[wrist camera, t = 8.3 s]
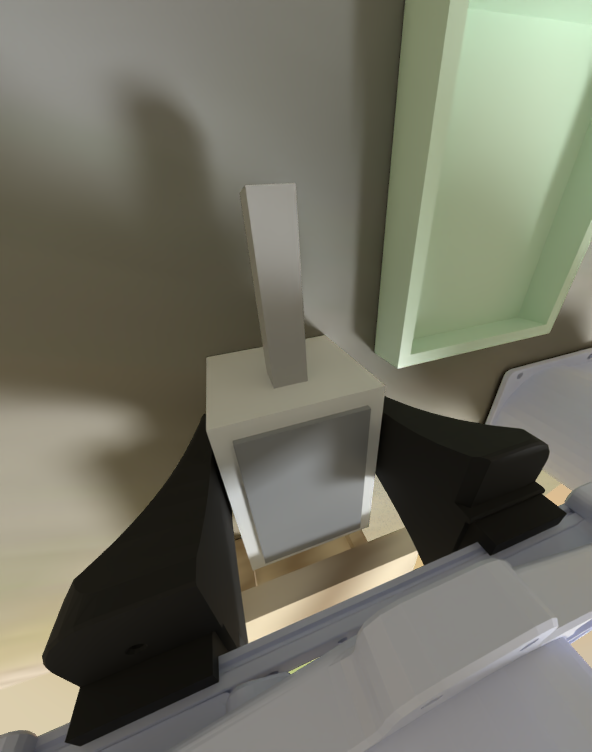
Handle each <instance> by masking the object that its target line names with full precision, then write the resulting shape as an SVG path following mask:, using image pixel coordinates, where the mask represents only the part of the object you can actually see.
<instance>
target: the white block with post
mask: <svg viewBox="0 0 592 752" xmlns="http://www.w3.org/2000/svg"><path fill="white" fill-rule="evenodd" d="M240 199H241V206H242V212H243V219H244V225H245V232H246V239H247V245H248V252H249V258H250V265H251V271H252V278H253V285H254V291H255V298H256V304H257V311H258V318H259V324H260V331H261V337H262V344H263V347H259V348H254V349H248V350H243V351H238V352H232V353H227V354H222V355H216V356H211V357H206V432H207V435H208V438H209V441H210V444H211V447H212V450H213V453H214V456H215V459H216V462H217V465H218V468H219V471H220V474H221V477H222V480H223V483H224V486H225V489H226V492H227V495H228V498H229V501H230V504H231V507H232V510H233V513H234V516H235V519H236V522H237V525H238V528H239V531H240V534H241V537H242V540H243V543H244V546H245V549H246V552H247V555H248V558H249V561H250V564H251V567H252V570H253V571H254V570H256V569H259V568H262V567H264V566H267V565H269V564H272V563H275V562H277V561H280V560H283V559H285V558H288V557H290V556H293V555H296V554H298V553H301V552H304V551H306V550H309V549H311V548H314V547H317V546H319V545H322V544H325V543H327V542H330V541H332V540H335V539H338V538H340V537H343V536H346V535H348V534H351V533H353V532H356V531H359V530H361V529H364V528H367V527H369V520H370V512H371V504H372V495H373V487H374V479H375V471H376V462H377V454H378V446H379V437H380V429H381V421H382V413H383V404H384V396H385V388H386V385H384V384H383V383H382V382H381V381H380V380H378V379H377V378H376V377H375V376H374V375H372V374H371V373H370V372H369V371H368V370H366V369H365V368H364V367H363V366H362V365H360V364H359V363H358V362H357V361H356V360H354V359H353V358H352V357H351V356H350V355H348V354H347V353H346V352H345V351H344V350H342V349H341V348H340V347H339V346H338V345H336V344H335V343H334V342H333V341H332V340H330V339H329V338H328V337H327V336H326V335H323V336H318V337H312V338H307V339H305V328H304V311H303V295H302V278H301V262H300V245H299V229H298V212H297V195H296V183H282V184H260V185H245V186H244V188H243V189H242V190H241V192H240Z"/></svg>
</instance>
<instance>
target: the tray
mask: <svg viewBox="0 0 592 752" xmlns="http://www.w3.org/2000/svg"><path fill="white" fill-rule="evenodd" d="M591 240H592V0H405V7H404V19H403V30H402V42H401V53H400V65H399V76H398V87H397V99H396V110H395V122H394V133H393V145H392V156H391V167H390V179H389V190H388V202H387V213H386V225H385V236H384V247H383V259H382V270H381V282H380V293H379V305H378V316H377V327H376V339H375V350H374V353H376V354H377V355H378V356H380V357H381V358H383V359H384V360H386V361H387V362H389V363H390V364H391V365H393V366H394V367H396V368H397V369H399V368H403V367H407V366H412V365H416V364H420V363H424V362H429V361H433V360H437V359H441V358H446V357H450V356H454V355H458V354H463V353H467V352H471V351H475V350H480V349H484V348H488V347H493V346H497V345H501V344H505V343H510V342H514V341H518V340H522V339H527V338H531V337H535V336H539V335H544V334H548V333H550V331H551V329H552V327H553V324H554V322H555V320H556V318H557V316H558V313H559V311H560V309H561V307H562V304H563V302H564V300H565V298H566V295H567V293H568V291H569V289H570V287H571V284H572V282H573V280H574V278H575V275H576V273H577V271H578V269H579V267H580V264H581V262H582V260H583V258H584V255H585V253H586V251H587V249H588V246H589V244H590V242H591Z"/></svg>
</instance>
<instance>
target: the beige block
mask: <svg viewBox="0 0 592 752" xmlns="http://www.w3.org/2000/svg"><path fill="white" fill-rule="evenodd" d="M235 548H236V556H237V564H238V572H239V580H240V587H241V595H242V602H243V609H244V616H245V623H246V630H247V637H248V643H250V642H252V641H255V640H257V639H259V638H262V637H264V636H266V635H268V634H271V633H273V632H275V631H277V630H280V629H282V628H284V627H286V626H289V625H291V624H293V623H295V622H298V621H300V620H302V619H304V618H307V617H309V616H311V615H313V614H316V613H318V612H320V611H323V610H325V609H327V608H329V607H332V606H334V605H336V604H338V603H341V602H343V601H345V600H347V599H350V598H352V597H354V596H356V595H359V594H361V593H363V592H365V591H368V590H370V589H372V588H375V587H377V586H379V585H381V584H384V583H386V582H388V581H390V580H393V579H395V578H397V577H399V576H402V575H404V574H406V573H408V572H411V571H413V568H414V565H415V562H416V559H417V556H418V552H417V550H416V548H415V546H414V543H413V541H412V539H411V537H410V535H409V533H408V531H407V530H406V528H405V527H404V528H402V529H399V530H397V531H394V532H392V533H389V534H387V535H384V536H382V537H379V538H377V539H374V540H372V541H369V542H368V541H367V539H366V537H365V536H364V534H363V532H362V530H359V531H356V532H353V533H351V534H348V535H346V536H343V537H340V538H338V539H335V540H332V541H330V542H327V543H325V544H322V545H319V546H317V547H314V548H311V549H309V550H306V551H304V552H301V553H298V554H296V555H293V556H290V557H288V558H285V559H283V560H280V561H277V562H275V563H272V564H269V565H267V566H264V567H262V568H259V569H256V570H254V571H253V570H252V567H251V564H250V561H249V558H248V555H247V552H246V549H245V546H244V543H243V540H242V538H241V539H238V540H235Z"/></svg>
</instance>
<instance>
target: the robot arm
mask: <svg viewBox="0 0 592 752" xmlns="http://www.w3.org/2000/svg"><path fill="white" fill-rule="evenodd" d="M541 470H543V471H544V472H546V473H547V474H549V475H550V476H552V477H553V478H554V479H556V480H557V481H559V482H560V483H562V484H563V485H565V486H566V487H567V488H569V489H571V490H572V492H571V493H570V494H569V495H568V497H567V498H566V500H565V503H564V504H562V505H560V506H557V505H555V504H554V503H553V502H552V501H550V500H549V499H548V498H546V497H545V496H544V495H542V494H543V493H544V492H545V489H544V488H543V487H542V486H541V485H539V484H538V483H537V482H535V480H536V479H537V477H538V475H539V474H540V472H541ZM375 474H376V475H377V477H378V479H379V480H380V482H381V484H382V485H383V487H384V489H385V491H386V492H387V494H388V496H389V498H390V499H391V501H392V503H393V505H394V507H395V509H396V510H397V512H398V514H399V516H400V518H401V520H402V522H403V524H404V526H405V528H406V529H407V531H408V533H409V535H410V537H411V539H412V541H413V543H414V546H415V548H416V550H417V552H418V554H419V556H420V558H421V560H422V562H423V564H424V566H422V567H420V568H417V569H415V570H413V571H411V572H408V573H406V574H404V575H402V576H399V577H397V578H395V579H393V580H390V581H388V582H386V583H384V584H381V585H379V586H377V587H375V588H372V589H370V590H368V591H365V592H363V593H361V594H359V595H356V596H354V597H352V598H350V599H347V600H345V601H343V602H341V603H338V604H336V605H334V606H332V607H329V608H327V609H325V610H323V611H320V612H318V613H316V614H313V615H311V616H309V617H307V618H304V619H302V620H300V621H298V622H295V623H293V624H291V625H289V626H286V627H284V628H282V629H280V630H277V631H275V632H273V633H271V634H268V635H266V636H264V637H262V638H259V639H257V640H255V641H252V642H250V643H248V637H247V630H246V623H245V616H244V609H243V602H242V595H241V587H240V580H239V572H238V564H237V556H236V548H235V540H234V531H233V522H232V507H231V504H230V501H229V498H228V495H227V492H226V489H225V486H224V483H223V480H222V477H221V474H220V471H219V468H218V465H217V462H216V459H215V456H214V453H213V450H212V447H211V444H210V441H209V438H208V435H207V432H206V414H204V415H203V416H202V418H201V421H200V423H199V425H198V428H197V430H196V432H195V434H194V436H193V438H192V440H191V442H190V444H189V446H188V448H187V450H186V451H185V453H184V455H183V457H182V458H181V460H180V462H179V463H178V465H177V467H176V468H175V470H174V471H173V473H172V474H171V476H170V477H169V479H168V480H167V481H166V483H165V484H164V486H163V487H162V488H161V490H160V491H159V492H158V494H157V495H156V496H155V497H154V499H153V500H152V501H151V502H150V503H149V505H148V506H147V507H146V508H145V509H144V511H143V512H142V513H141V514H140V515H139V516H138V517H137V519H136V520H135V521H134V522H133V523H132V524H131V525H130V526H129V527H128V528H127V529H126V530H125V531H124V532H123V533H122V534H121V535H120V537H119V538H118V539H117V540H116V541H115V542H114V543H113V544H112V545H111V546H110V547H109V548H107V549H106V550H105V551H104V552H103V553H102V554H101V555H100V556H99V557H98V558H97V559H96V560H95V561H94V562H92V563H91V564H90V565H89V566H88V567H87V568H86V569H85V570H84V571H83V572H82V573H81V574H80V575H78V576H77V577H76V578H75V579H74V580H73V582H72V584H71V587H70V589H69V591H68V593H67V595H66V597H65V599H64V601H63V604H62V606H61V609H60V611H59V614H58V617H57V619H56V622H55V624H54V627H53V629H52V632H51V634H50V637H49V640H48V642H47V645H46V647H45V650H44V652H43V655H42V659H43V664H44V666H45V667H46V668H47V669H48V670H49V671H51V672H52V673H54V674H55V675H57V676H59V677H61V678H63V679H65V680H67V681H69V682H72V683H73V684H75V685H77V686H79V687H80V690H79V693H78V697H77V700H76V704H75V707H74V711H73V714H72V718H71V721H70V722H69V723H67V724H65V725H63V726H61V727H58V728H56V729H54V730H51V731H49V732H47V733H45V734H42V735H40V736H38V737H37V736H36V734H34V733H32V732H30V731H26V730H25V731H24V730H18V731H13V732H8V733H6V734H3V735H0V752H592V668H591V667H590V666H589V665H588V664H587V663H586V662H585V661H584V659H583V658H582V657H581V656H580V655H579V654H578V653H577V651H576V650H575V649H574V648H573V647H572V646H571V645H570V644H571V643H573V642H574V641H576V640H577V639H579V638H580V637H582V636H584V635H585V634H587V633H588V632H590V631H592V348H589V349H585V350H581V351H577V352H574V353H570V354H566V355H562V356H559V357H555V358H551V359H547V360H543V361H540V362H536V363H532V364H528V365H525V366H521V367H517V368H513V369H510V370H508V371H507V372H506V373H505V375H504V377H503V379H502V382H501V384H500V387H499V389H498V392H497V395H496V397H495V400H494V402H493V405H492V408H491V410H490V413H489V415H488V418H487V420H486V423H485V424H480V423H474V422H468V421H463V420H458V419H454V418H449V417H445V416H441V415H437V414H433V413H430V412H427V411H423V410H420V409H417V408H414V407H411V406H408V405H405V404H403V403H400V402H398V401H395V400H393V399H390V398H388V397H386V396H384V404H383V413H382V421H381V429H380V437H379V446H378V454H377V462H376V471H375ZM318 657H319V658H318ZM316 658H317V659H316ZM314 659H315V660H314ZM311 660H314V661H312V662H311V663H309V664H307V665H306V666H304V667H303V668H301V669H299V670H297V671H296V672H294V673H293V674H290V673H288V672H289V671H291V670H293V669H295V668H297V667H299V666H301V665H303V664H305V663H307V662H309V661H311Z"/></svg>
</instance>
